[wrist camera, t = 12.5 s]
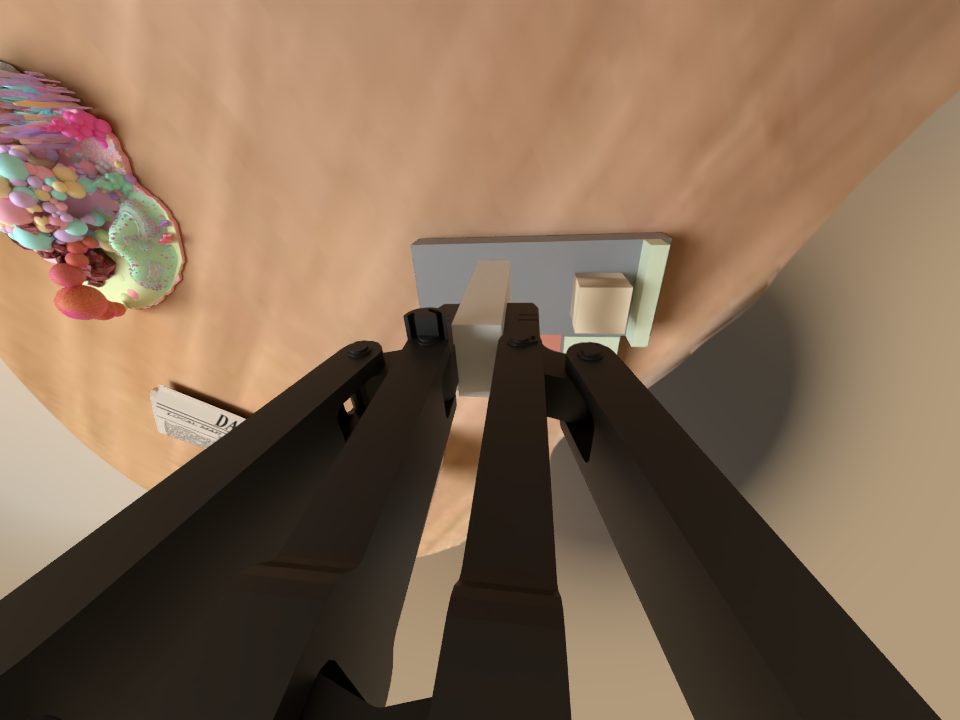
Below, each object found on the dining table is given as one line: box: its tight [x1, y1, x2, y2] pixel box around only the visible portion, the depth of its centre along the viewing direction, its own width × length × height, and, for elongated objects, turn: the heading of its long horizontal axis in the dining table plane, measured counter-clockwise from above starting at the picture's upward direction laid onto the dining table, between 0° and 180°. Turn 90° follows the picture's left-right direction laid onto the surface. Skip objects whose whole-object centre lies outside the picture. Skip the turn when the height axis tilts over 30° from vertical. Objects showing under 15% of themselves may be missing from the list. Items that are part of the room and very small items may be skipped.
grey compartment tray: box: [411, 232, 672, 390], centre depth 38 cm, size 25×18×6 cm
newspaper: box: [150, 384, 246, 449], centre depth 57 cm, size 35×12×4 cm, turn 69°
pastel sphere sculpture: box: [0, 61, 185, 320], centre depth 36 cm, size 25×24×9 cm
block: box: [570, 273, 633, 334], centre depth 33 cm, size 4×4×4 cm
